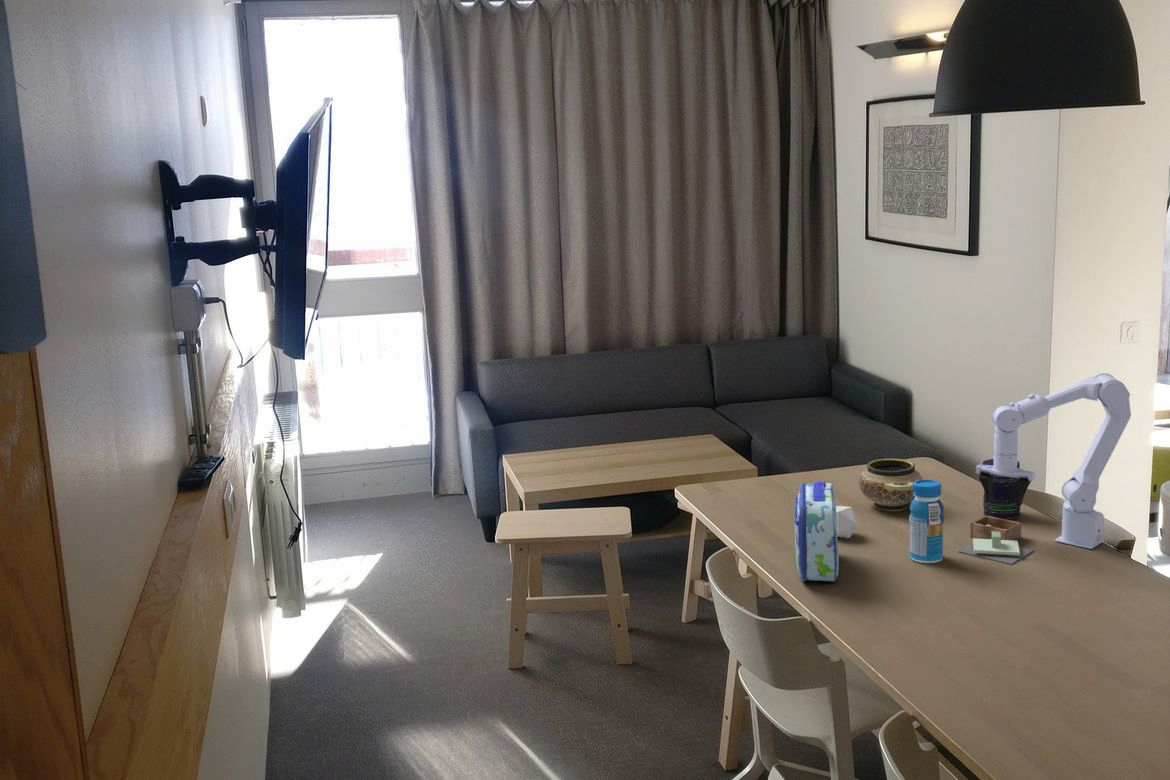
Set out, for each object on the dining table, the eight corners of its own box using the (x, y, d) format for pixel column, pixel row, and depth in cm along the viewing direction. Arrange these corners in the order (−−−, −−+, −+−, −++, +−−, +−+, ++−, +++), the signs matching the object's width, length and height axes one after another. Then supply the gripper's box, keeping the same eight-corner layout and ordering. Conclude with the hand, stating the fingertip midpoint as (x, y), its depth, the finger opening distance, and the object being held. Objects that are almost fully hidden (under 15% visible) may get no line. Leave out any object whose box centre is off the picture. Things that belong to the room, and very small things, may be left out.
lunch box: (795, 550, 284) (794, 473, 280) (837, 551, 282) (837, 473, 277) (794, 587, 259) (793, 504, 255) (840, 589, 257) (840, 505, 252)
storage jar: (1019, 520, 296) (1018, 467, 293) (981, 518, 300) (980, 466, 298) (1022, 510, 305) (1021, 459, 302) (985, 508, 309) (984, 457, 306)
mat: (1033, 551, 274) (1033, 550, 274) (1011, 564, 266) (1011, 563, 266) (981, 539, 284) (981, 538, 284) (958, 552, 276) (958, 551, 276)
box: (1020, 537, 284) (1021, 522, 284) (1006, 545, 279) (1007, 530, 278) (984, 529, 292) (985, 515, 291) (970, 537, 286) (970, 523, 286)
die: (861, 534, 295) (844, 502, 298) (866, 528, 286) (848, 495, 289) (833, 547, 294) (816, 515, 298) (837, 542, 286) (819, 508, 289)
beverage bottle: (905, 562, 272) (906, 485, 267) (912, 550, 279) (913, 476, 275) (940, 566, 268) (941, 488, 264) (946, 554, 275) (947, 479, 271)
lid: (1017, 545, 278) (1017, 529, 277) (1019, 557, 270) (1020, 541, 269) (972, 543, 281) (973, 527, 280) (973, 555, 273) (974, 538, 272)
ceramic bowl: (856, 504, 327) (844, 458, 324) (913, 486, 327) (901, 441, 323) (880, 530, 303) (867, 482, 300) (941, 512, 303) (929, 463, 299)
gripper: (1039, 452, 277) (1038, 503, 279) (983, 445, 286) (982, 494, 289) (1030, 459, 272) (1028, 510, 274) (973, 451, 281) (972, 501, 284)
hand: (1004, 503), depth 281 cm, fingers open, 7 cm apart
